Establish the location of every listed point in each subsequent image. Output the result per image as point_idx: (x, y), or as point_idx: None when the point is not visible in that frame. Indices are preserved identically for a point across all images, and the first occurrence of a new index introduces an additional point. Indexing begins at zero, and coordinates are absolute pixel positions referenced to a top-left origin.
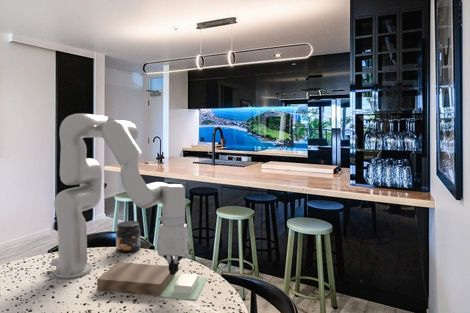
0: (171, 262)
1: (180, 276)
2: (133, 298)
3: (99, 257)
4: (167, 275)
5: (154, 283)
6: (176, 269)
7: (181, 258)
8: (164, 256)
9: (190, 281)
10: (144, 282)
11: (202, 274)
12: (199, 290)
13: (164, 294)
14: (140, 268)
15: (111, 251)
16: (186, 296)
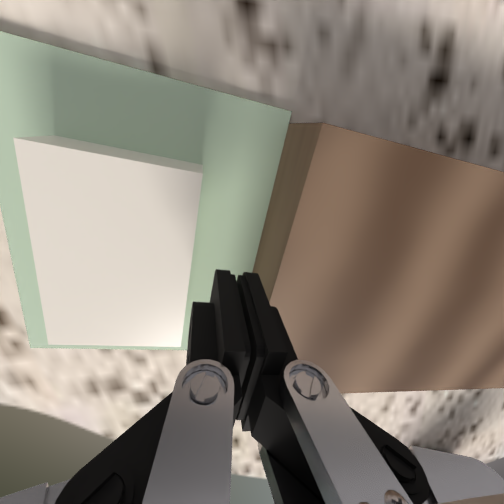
0: (269, 377)
1: (181, 306)
2: (445, 104)
3: (499, 419)
4: (274, 284)
5: (374, 142)
6: (199, 314)
7: (81, 474)
8: (410, 459)
9: (70, 237)
10: (446, 165)
11: (84, 380)
12: (7, 189)
13: (263, 136)
14: (434, 350)
15: (460, 452)
16: (83, 89)
